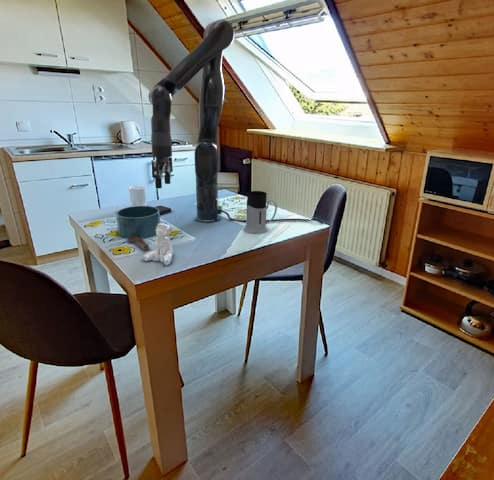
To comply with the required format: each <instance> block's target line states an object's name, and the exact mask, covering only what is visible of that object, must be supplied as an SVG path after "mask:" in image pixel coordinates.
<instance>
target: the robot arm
mask: <svg viewBox="0 0 494 480" xmlns="http://www.w3.org/2000/svg"><path fill="white" fill-rule="evenodd" d="M234 39H235V29H234V26H233V25H232V24H231V22H230V21H228V20H225V19H218V20H215V21H212V22H210V23H209V24H207V26H206V27H205V29H204V32H203V40H202V41H201V43H200V44H198V45H197V47H195V48H194V49H193V50H191V52H189V53H188V54H187V55H185V56H184V57H183V58H181V59H180V60H179V62H177V63H176V64H175V65H174V66H173V67H172V68H171V69H170V70H169V71H168V73H167V74H166V75H165V76H164V77H163V78H162V79H161V80H160V81H158V82H157V83H156V84H155V85H154V86H153V87H152V88H151V89H150V90H149V92H148V101H149V103H150V105H152V116H151V119H150V127H151V135H150V141H151V156H152V157H153V158H155V161H154V160H153V161H151V178H154V181H155V188H156V189H162V188H163V182H162V180H163V179H162V178H164V184H165V185H170V184H171V175H172V173H173V170H174V168H173V167H174V166H173V158H172V156H173V145H172V143H173V141H172V133H171V132H172V131H171V114H172V113H171V112H172V98H173V96H174V95H175V94H176V93H178V92H180V91H181V90H182V89H184V88H185V86H186V85H187V84H189V83H190V81H191V80H192V79H193V78H194V77H195V76H196V75H197V74H198V73H199V72H200V71H201V70H202V72H201V84H200V89H199V90H200V91H199V104H198V105H199V107H198V114H199V129H198V131H199V132H198V137H197V142H196V146H195V149H194V175H195V199H196V200H195V201H196V220H197V221H199V222H204V223H211V222H218V221H219V215H222V213H223V214H225V215H226V216H227V218H228V219H229V220H230V221H233V222H241V223H244V222H245V223H246V219H241V220H239V219H238V220H237V219H233V218H232V217H230V214H229V213H228V212H227V211H226V210H223V207H222V206H220V205H219V186H218V185H219V184H218V183H219V176H218V175H219V170H218V169H219V167H218V166H219V165H218V163H219V162H218V159H219V157H218V156H219V155H218V129H219V124H220V120H221V116H222V112H223V105H224V97H225V84H224V77H223V71H222V61H223V55H224V54H223V53H224V50H226V49H227V48H229V47H230V46H231V45H232V43H233V42H234ZM163 174H164V177H163ZM309 219H311V220H309ZM270 220H271V219H266V223H267V222H268V221H270ZM281 221H283V222H284V221H302V222H303V221H304V222H312V221H315V222H319V223H320V224H322V225H324V224H325V223H324V222H323V221H322V220H320V219H318V218H277V219H273V220H271V221H270V222H281Z"/></svg>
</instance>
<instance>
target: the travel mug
mask: <svg viewBox="0 0 494 480" xmlns="http://www.w3.org/2000/svg"><path fill="white" fill-rule="evenodd" d="M267 194H268V193H267V192H266V191H263V190H252V191H247V196H246V197H247V199H246V213H245V214H246V215H245V217H246V218H245V220H246V222H245V228H244V231H245V232H247V233H250V234H263V233H266V232H267V230H268V229H267V227H266V226H267V224H269V223H270V222H272V221H271V220H274V218H275V216H276V214H277V210H278V204H277V202H276V200H274V199H269V200H268V201H267V199H268V197H267ZM270 202H273V204H274V205H275V206H274V213H273V215H272V217H271V218H270V219H269V220H270V221H268V222H266V220H267V210H268V209H269V204H270Z"/></svg>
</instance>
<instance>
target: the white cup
mask: <svg viewBox="0 0 494 480" xmlns="http://www.w3.org/2000/svg"><path fill="white" fill-rule="evenodd" d="M128 193H129V199H130V203H131V207H133V206H147V187H146V185H132V186H129V187H128Z"/></svg>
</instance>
